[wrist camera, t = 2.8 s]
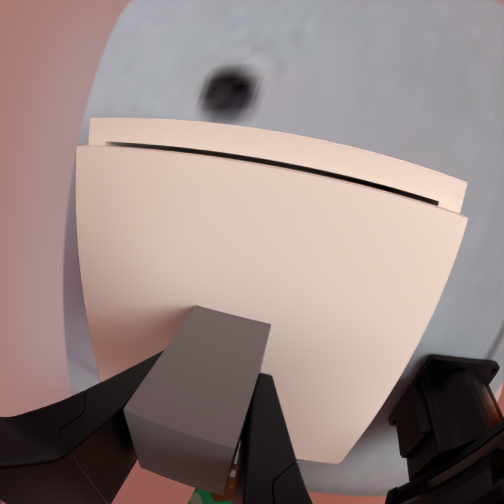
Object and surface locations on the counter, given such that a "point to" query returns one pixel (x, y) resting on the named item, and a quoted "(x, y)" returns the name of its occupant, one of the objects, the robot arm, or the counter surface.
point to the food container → (204, 500)
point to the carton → (283, 155)
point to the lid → (251, 298)
